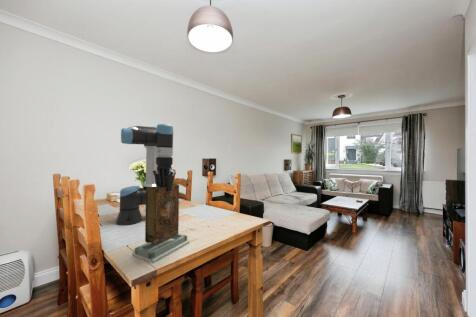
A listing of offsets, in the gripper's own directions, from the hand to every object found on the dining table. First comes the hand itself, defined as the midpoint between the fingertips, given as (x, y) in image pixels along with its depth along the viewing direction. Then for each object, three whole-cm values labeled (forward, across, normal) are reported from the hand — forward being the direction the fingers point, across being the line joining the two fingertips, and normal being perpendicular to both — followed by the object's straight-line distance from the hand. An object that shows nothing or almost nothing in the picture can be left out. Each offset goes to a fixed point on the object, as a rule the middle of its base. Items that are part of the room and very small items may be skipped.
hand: (163, 205), depth 94 cm
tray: (+21, 0, 0) cm, 21 cm away
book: (+16, 0, 0) cm, 16 cm away
